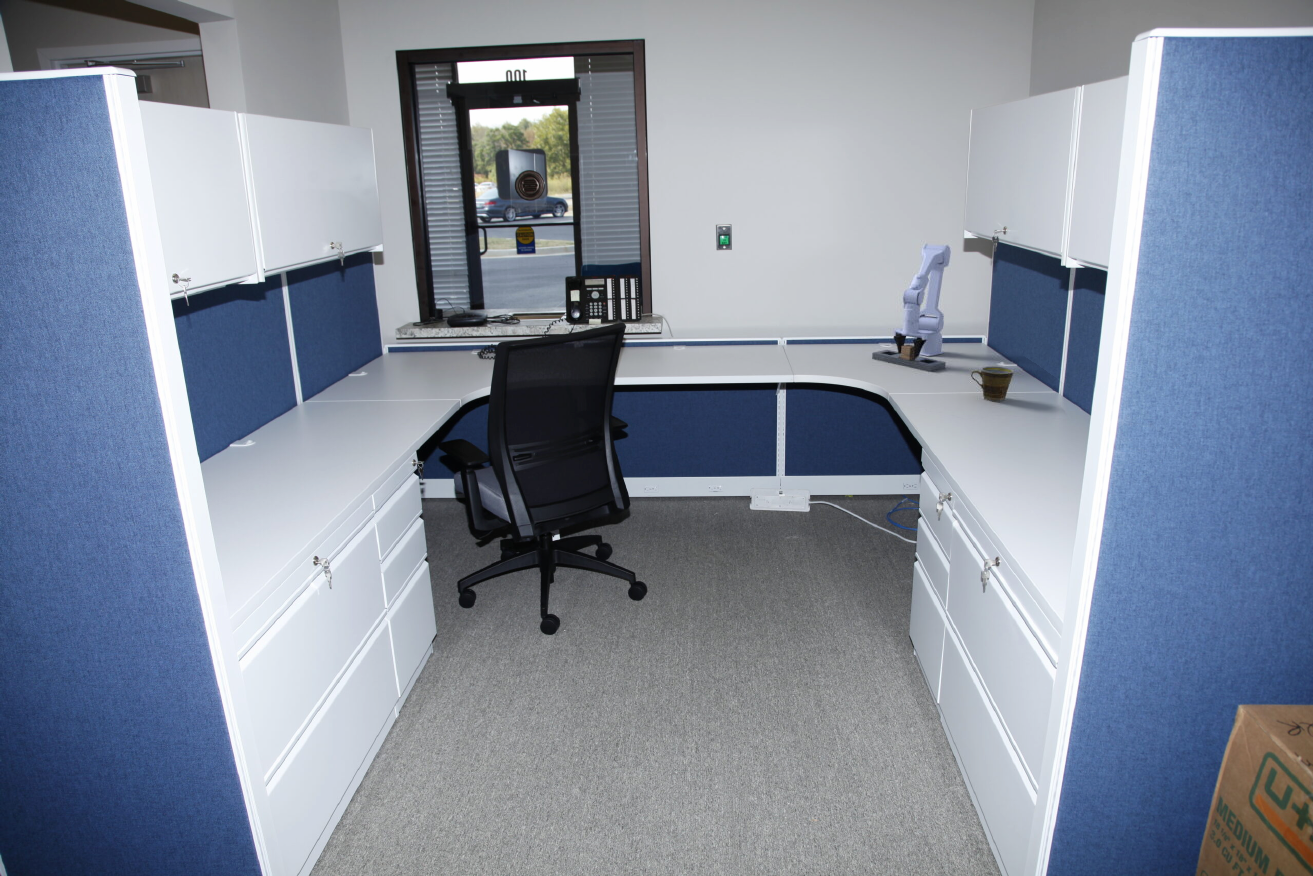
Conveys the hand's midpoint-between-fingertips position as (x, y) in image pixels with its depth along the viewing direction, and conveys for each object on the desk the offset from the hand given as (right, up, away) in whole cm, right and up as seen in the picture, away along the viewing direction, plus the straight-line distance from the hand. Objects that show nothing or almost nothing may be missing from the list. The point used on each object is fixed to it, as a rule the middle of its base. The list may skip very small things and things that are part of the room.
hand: (908, 354), depth 331 cm
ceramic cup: (+13, -20, -48) cm, 53 cm away
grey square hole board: (0, -3, +1) cm, 3 cm away
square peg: (0, -3, +1) cm, 4 cm away
